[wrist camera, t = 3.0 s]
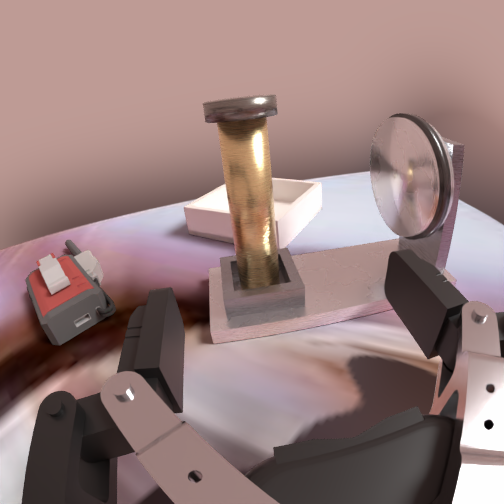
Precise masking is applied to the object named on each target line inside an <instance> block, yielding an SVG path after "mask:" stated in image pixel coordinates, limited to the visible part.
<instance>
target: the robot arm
mask: <svg viewBox="0 0 504 504" xmlns="http://www.w3.org/2000/svg"><path fill="white" fill-rule="evenodd" d="M384 291H385V296H386V298H387V300H388V302H389V303H390V305H391V306H392V307H393V309H394V310H395V312H396V313H397V315H398V316H399V317H400V319H401V320H402V322H403V323H404V325H405V326H406V327H407V329H408V330H409V332H410V333H411V335H412V336H413V338H414V339H415V341H416V342H417V344H418V345H419V347H420V348H421V350H422V351H423V353H424V354H425V356H426V357H427V359H430V358H433V357H436V356H438V355H440V357H441V361H440V363H439V367H438V375H437V383H436V389H435V395H434V401H433V405H432V408H431V411H430V413H429V414H424V415H422V414H421V412H420V410H419V408H418V407H414V408H411V409H409V410H406V411H404V412H401V413H399V414H396V415H393V416H390V417H387V418H385V419H384V420H382V421H381V422H379V423H378V424H376V425H375V426H373V427H371V428H370V429H368V430H366V431H365V432H363V433H361V434H360V435H358V436H356V437H353V438H344V439H316V440H315V439H314V440H313V439H312V440H308V441H304V442H299V443H294V444H289V445H284V446H279V447H273V449H274V457H272V458H269V459H267V460H265V461H263V462H261V463H260V464H258V465H256V466H255V467H253V468H252V469H251V470H249V471H248V472H247V473H246V474H245V475H243V474H242V473H241V472H239V471H238V470H237V469H236V468H235V467H234V466H232V465H231V464H230V463H229V462H228V461H227V460H226V459H225V458H223V457H222V456H221V455H220V454H219V453H218V452H217V451H216V450H215V449H214V448H213V447H212V446H210V445H209V444H208V443H207V442H206V441H205V440H204V439H203V438H202V437H201V436H200V435H199V434H198V433H197V432H196V431H195V430H194V429H193V428H192V427H191V426H190V425H189V424H188V423H186V422H185V421H183V422H182V421H181V420H180V419H179V418H178V417H177V416H176V415H175V414H174V413H183V370H184V343H185V332H184V325H183V321H182V318H181V315H180V312H179V308H178V305H177V302H176V299H175V296H174V292H173V290H172V288H171V287H169V288H162V289H155V290H150V292H149V296H148V300H147V305H144V306H138V307H137V308H136V310H135V311H134V312H133V314H132V315H131V316H130V319H129V323H128V327H127V328H128V330H127V331H126V335H125V339H124V344H123V348H122V352H121V356H120V361H119V365H118V370H117V374H115V375H113V376H111V377H110V378H109V379H108V380H107V381H106V382H105V383H104V385H103V386H102V389H101V392H100V393H97V394H94V395H91V396H88V397H85V398H81V399H78V400H76V399H75V398H74V397H73V396H72V395H71V394H70V393H68V392H66V391H57V392H54V393H51V394H50V395H48V396H47V397H46V398H45V399H44V400H43V401H42V403H41V405H40V407H39V410H38V414H37V418H36V423H35V427H34V431H33V436H32V441H31V445H30V451H29V456H28V462H27V467H26V474H25V481H24V488H23V497H22V504H117V457H119V456H122V455H126V454H129V453H133V452H136V456H137V458H138V459H139V461H140V462H141V464H142V465H143V466H144V467H145V469H146V470H147V471H148V473H149V474H150V475H151V476H152V478H153V479H154V480H155V481H156V482H157V484H158V485H159V486H160V487H161V488H162V490H163V491H164V492H165V493H166V494H167V495H168V497H169V498H170V499H171V500H172V501H173V502H174V503H175V504H504V312H499V313H495V312H494V311H493V309H492V308H491V307H489V306H488V305H486V304H484V303H482V302H478V301H470V302H469V301H468V300H467V299H466V298H465V297H464V296H463V295H462V294H461V293H460V292H459V291H458V290H457V289H456V288H455V287H454V286H453V285H452V283H451V282H450V281H447V278H446V277H445V276H444V275H443V274H442V275H441V272H440V271H439V270H438V269H437V268H436V267H435V266H434V265H432V264H430V263H429V262H427V261H425V260H423V259H420V258H419V257H418V256H417V255H416V254H415V253H414V252H413V251H412V250H411V249H404V250H398V251H393V252H391V253H390V255H389V259H388V266H387V272H386V278H385V285H384Z"/></svg>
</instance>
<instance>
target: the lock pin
mask: <svg viewBox="0 0 504 504" xmlns="http://www.w3.org/2000/svg"><path fill="white" fill-rule="evenodd" d="M203 108H204V115H205V122H207V123H217V125H218V132H219V140H220V148H221V155H222V162H223V169H224V177H225V184H226V191H227V198H228V205H229V212H230V219H231V226H232V233H233V239H234V246H235V253H236V259H237V266H238V273H239V279H240V286H241V290H246V289H252V288H259V287H265V286H271V285H277V284H280V280H279V265H278V250H277V237H276V223H275V210H274V198H273V186H272V175H271V163H270V152H269V141H268V131H267V120H266V117H268V116H274V115H277V104H276V95H260V96H249V97H248V96H247V97H238V98H230V99H222V100H216V101H210V102H205V103H203Z"/></svg>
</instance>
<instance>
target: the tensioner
mask: <svg viewBox="0 0 504 504" xmlns="http://www.w3.org/2000/svg"><path fill="white" fill-rule="evenodd" d="M463 157H464V145H463V144H460V143H458V142H455V141H452V140H449V139H446V138H443V137H441V136H440V134H439V133H438V131H437V130H436V129H435V128H434V127H433V126H432V125H431V124H429V123H428V122H426V121H425V120H424V119H422V118H421V117H419V116H417V115H413V114H395V115H392V116H391V117H389V118H388V119H386V120H384V121H383V122H382V123H381V124H380V126H379V127H378V128H377V130H376V132H375V135H374V138H373V142H372V146H371V154H370V175H371V183H372V189H373V193H374V197H375V201H376V204H377V207H378V209H379V212H380V214H381V216H382V218H383V220H384V221H385V223H386V224H387V226H388V227H389V228H390V229H391V230H392V231H393V232H394V233H396V234H397V235H399V236H400V237H399V239H393V240H387V241H381V242H375V243H369V244H362V245H356V246H350V247H344V248H338V249H331V250H325V251H319V252H313V253H306V254H300V255H294V256H291V255H290V253H289V251H288V248H282V249H277V250H278V265H279V280H280V284H277V285H271V286H265V287H259V288H252V289H246V290H241V286H240V279H239V273H238V266H237V259H236V256H229V257H223V258H220V264H221V267H216V268H209V300H210V332H211V336H212V340H213V343H214V344H216V343H224V342H231V341H237V340H244V339H250V338H257V337H263V336H269V335H274V334H280V333H286V332H291V331H296V330H302V329H307V328H312V327H317V326H322V325H327V324H331V323H336V322H340V321H345V320H349V319H354V318H358V317H362V316H367V315H371V314H375V313H379V312H383V311H387V310H391V309H393V307H392V306H391V305H390V303H389V302H388V300H387V298H386V296H385V291H384V285H385V278H386V272H387V266H388V259H389V255H390V253H391V252H393V251H398V250H404V249H411V250H412V251H413V252H414V253H415V254H416V255H417V256H418V257H419V258H420V259H423V260H425V261H427V262H429V263H430V264H432V265H434V266H435V267H436V268H437V269H438V270H439V271H440V272H441V275H442V274H443V275H444V276H445V277H446V278H447V281H450V282H451V283H452V285H453V286H454V287H455V284H456V281H457V280H456V279H455V278H454V277H453V276H452V275H451V274H450V273H449V272H448V271H447V270H446V269H445V265H446V261H447V257H448V253H449V248H450V244H451V239H452V234H453V229H454V224H455V218H456V212H457V206H458V200H459V193H460V184H461V177H462V168H463Z"/></svg>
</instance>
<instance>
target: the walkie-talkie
mask: <svg viewBox="0 0 504 504" xmlns="http://www.w3.org/2000/svg"><path fill="white" fill-rule="evenodd" d="M65 245H66V246H67V248H68V249H69V250H70V251H71V253H72V254H73V255H74V257H73V255H62V256H60V257H58V258H55V256H54V254H53V253H52V254H50V255H48V256H46V257H44V258H42V259H40V260H38V261H37V264H38V267H39V268H38V269H36V270H34V271H32V272H31V273H30V274H29V275H28V277H27V278H26V280H25V281H26V284H27V290H28V292H29V296H30V299H31V301H32V302H33V305H34V308H35V311H36V314H37V316H38V319H39V322H40V325H41V326H42V328H43V330H44V331H45V333H46V335H47V336H48V338H49V340H50V341H51V343H52V344H53V345H61V344H63V343H65V342H66V341H68V340H70V339H71V338H73V337H75V336H76V335H78V334H80V333H81V332H83V331H85V330H86V329H88V328H90V327H91V326H93V325H94V324H96V323H98V322H99V321H101V320H103V319H104V318H106V317H109V316H111V315H113V314H114V312H115V311H116V308H115V305H114V302H113V301H112V300H111V299H110V297H109V296H108V295H107V294H106V293H105V292H104V291H103V290H102V289H101V288H100V285H101V281H102V278H103V272H102V269H101V267H100V264H99V261H98V260H97V259H96V258H95V257H94V256H93V255H92V253H91V252H90V251H89V250H86V251H84V252H81V251H80V250H79V249H78V248H77V247H76V245H75V244H74V243H73V242H72V241H71V240H67V241H66V242H65ZM108 304H109V305H110V306H108Z"/></svg>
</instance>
